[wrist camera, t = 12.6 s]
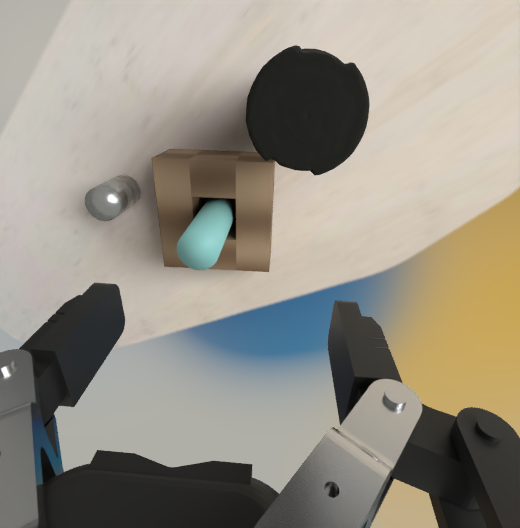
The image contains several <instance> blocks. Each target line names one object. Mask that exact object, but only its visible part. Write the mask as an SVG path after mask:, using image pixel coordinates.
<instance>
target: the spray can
mask: <svg viewBox="0 0 520 528" xmlns="http://www.w3.org/2000/svg"><path fill="white" fill-rule="evenodd" d="M368 114H369V96H368V91H367V87H366V84H365V81H364V79H363V76H362V74H361V73H360V71H359V69H358V68H357V67H356V65H355V64H354V63H348V64H344V63H343V62H342V61H340V60H339V59H338V58H337V57H335V56H334V55H332V54H329V53H327V52H325V51H321V50H317V49H301V48H300V46H292V47H289V48H287V49H285V50H283V51H281V52H280V53H279V54H277V55H276V56H274V57H273V58H272V59H271V60H269V61H268V62H267V63H266V64H265V65H264V66H263V67H262V69H261V70H260V72H259V73H258V75H257V77H256V79H255V81H254V82H253V84H252V87H251V89H250V92H249V95H248V98H247V107H246V123H247V128H248V132H249V136H250V138H251V140H252V143H253V145H254V147H255V149H256V151H257V152H258V153H259V155H260V156H261V157H262V158H263V159H264V160H265V161H268V160H270V159H272V160H275V161H276V162H277V163H278V164H279V165H281V166H284V167H287V168H290V169H294V170H300V171H311V172H312V173H313V174H314V175H320V174H323V173H325V172H328V171H330V170H332V169H334V168H336V167H337V166H338V165H340V164H341V163H342V162H344V161H345V160H346V159H347V158H348V157H349V156H350V155H351V154H352V153H353V152H354V150H355V149H356V147H357V146H358V144H359V142H360V140H361V138H362V136H363V134H364V131H365V129H366V126H367V121H368Z"/></svg>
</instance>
